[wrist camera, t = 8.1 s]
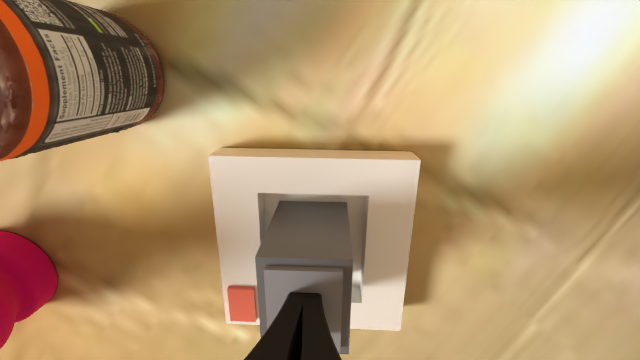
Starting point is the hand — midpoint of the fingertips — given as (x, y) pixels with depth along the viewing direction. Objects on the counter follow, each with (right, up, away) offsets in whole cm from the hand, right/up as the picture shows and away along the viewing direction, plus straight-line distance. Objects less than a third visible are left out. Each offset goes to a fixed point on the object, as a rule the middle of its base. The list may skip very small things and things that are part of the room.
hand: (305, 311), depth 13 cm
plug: (0, +2, +6) cm, 6 cm away
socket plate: (0, +2, +6) cm, 7 cm away
